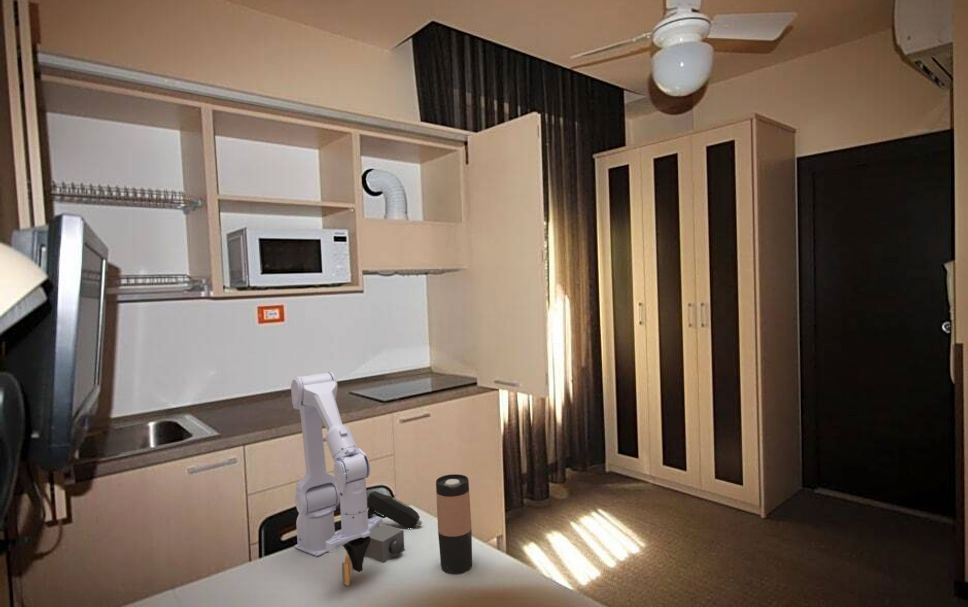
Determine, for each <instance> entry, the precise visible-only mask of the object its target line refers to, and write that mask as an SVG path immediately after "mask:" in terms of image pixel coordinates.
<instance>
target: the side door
mask: <svg viewBox="0 0 968 607" xmlns="http://www.w3.org/2000/svg"><path fill="white" fill-rule="evenodd" d="M345 553H346V554H345V558H344V562H342V563H341V573H342V574H341V575H342V577H341V578H342V583H343V584H345V586H346V587H347V586H350V582H351V576H352V570H353V566H352V562H351V560H350V557H349V555H348V553H347V551H346V552H345Z"/></svg>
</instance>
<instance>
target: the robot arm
mask: <svg viewBox="0 0 968 607" xmlns="http://www.w3.org/2000/svg"><path fill="white" fill-rule="evenodd" d="M337 380H338V379H337V377H336V375H335V374H334V372H332V371H328V372H324V373H323V372H322V373H317V374H311V375H310V374H309V375H303V376H294V378H293V379H292V381H291V385H290V392H291V402H292V407H293V409H295V410H299V414H300V415H299V416H300V420H301V421H300V422H301V430H302V431H301V432H302V443H303V454H304V463H305V475H304V476H303V477H301V479H299V481H298V482H297V483H296V485H295V498H294V499H295V500H294V502H295V507H296V510H297V512H298V516H297V518H296V523H295V524H296V538H297V540H296V541H297V544H295V545H294V548H295V549H296V550H297V549H298V550H300V551H303V552H305V553H308V554H310V555H312V556H314V557H320V556H322V555H324V554H326V553H327V552H329V553H334V552H336V549H338V548H341V547H343V548H344V549H345V551H346V552H347V553H348V555H349V557H350V560H351V562H352V570H353V571H355V572H358V573H360V572H362V571H363V567H364V566H363V565H364V559H365V557H366V556H365V553H366V550H367V548H368V545H369V543H370V542H371V539H370V536H369V535H370V531H371V530H373V529H375V528H377V527H382V526H383V524H384V522H383V518H381V517H378V516H377V515H375V516H373V517H372V518H371V519H368V513H367V512H368V501H367V498H368V496H367V482H366V481H367V480H366V479H367V478H369V476H370V473H371V467H370V460H369V458H368V455H367V454H366V453H365V452H364V451H363V450H362V448H361V447H360V448H359V447H358V445H357V443H356V440H355V438H354V436H353V433H352V431H351V428H350V427H348V426H347V425H343V421H342V418H341V415H340V411H339V408H338V405H337V401H336V399H337V395H338V394H337V393H338V381H337ZM322 423H323V424H322ZM323 425H324V426H325V428H326V431H327V433H326V435H325V441H326V445H327V446H328V449H329V452H330V455H331V457H332V459H333V462H334V463H333V474H332V473H330V472H328V471H327V465H326V454H325V445H324V444H325V442H324V435H323ZM339 505H340V506H339ZM337 506H339V508H340V519H341V520H340V522H341V524H340V525H341V526H340V527H341V529H340V530H338V531H337V533H336V528H335V512H334V511H336V510H337Z"/></svg>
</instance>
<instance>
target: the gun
mask: <svg viewBox="0 0 968 607" xmlns="http://www.w3.org/2000/svg"><path fill="white" fill-rule="evenodd" d="M367 505H369V506H368V508H367V513H368V519H371V518H374V515H375V516H378V517H381V518H382V519H385V518H387V519H389V520H391V521H393V522H395V523H396V524H398V525H400V526H402V527H403V528H405V529H407V528H409V529H408V530H411V529H410V528H414V527H415V528H416V527H417V526H421V525H422V523H423V521H422V520H421V519H420V518H421V517H420V515H419V513H418V512H417V511H416V510H415V509H413V508H412V507H411V506H410V505H409V504H406V503H405V502H403V501H402V500H399V499H398V498H396V497H393V496H392V495H391V496H390V495H388V494H387V495H386V494H384V493H382V492H378V491H371V492H370V493H368V496H367ZM415 528H414V529H415Z"/></svg>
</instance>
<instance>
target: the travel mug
mask: <svg viewBox="0 0 968 607" xmlns="http://www.w3.org/2000/svg"><path fill="white" fill-rule="evenodd" d="M469 481H470V480H469V478H468V476H466V475H463V474H459V473H458V474H457V473H455V474H454V473H451V474H445V475H442V476H440V477H438V478H437V479H436V480H435V489H436V490H435V495H436V512H437V514H436V516H437V517H436V518H437V534H438V535H437V536H438V544H439V546H438V547H439V557H440V559H439V560H440V568H441V570H442V572H444V573H445V574H448V575H461V574H464V573H467V572H468V571H471V569H472V567H473V539H472V538H473V537H472V531H473V530H472V512H471V511H472V510H471V500H470V498H471V495H470V483H469Z"/></svg>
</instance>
